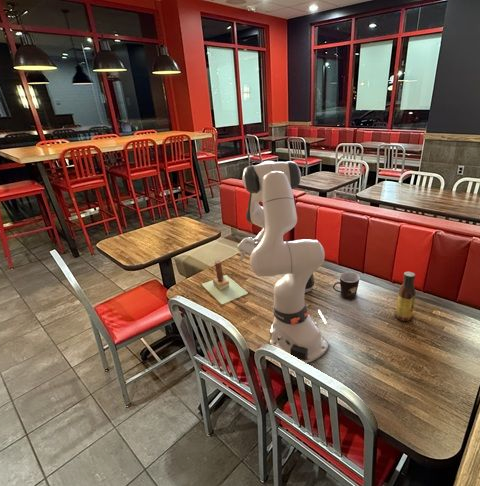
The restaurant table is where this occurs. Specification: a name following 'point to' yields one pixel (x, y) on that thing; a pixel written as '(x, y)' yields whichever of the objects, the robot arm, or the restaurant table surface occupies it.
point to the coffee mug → (348, 285)
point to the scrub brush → (220, 277)
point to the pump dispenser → (309, 284)
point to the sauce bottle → (406, 298)
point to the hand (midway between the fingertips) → (247, 263)
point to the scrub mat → (225, 291)
